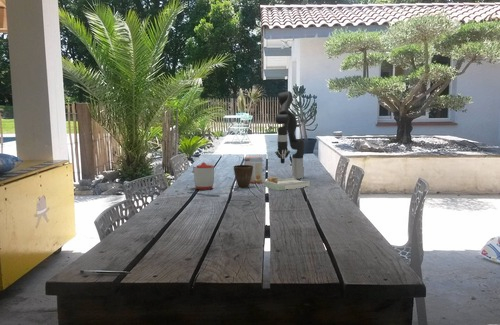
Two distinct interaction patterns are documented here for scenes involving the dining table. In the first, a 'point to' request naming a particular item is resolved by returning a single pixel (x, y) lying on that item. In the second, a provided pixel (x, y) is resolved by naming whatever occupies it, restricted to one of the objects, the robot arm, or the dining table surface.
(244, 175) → the plant pot
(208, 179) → the citrus juicer
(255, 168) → the cracker box
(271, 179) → the block
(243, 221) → the dining table surface
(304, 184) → the box
